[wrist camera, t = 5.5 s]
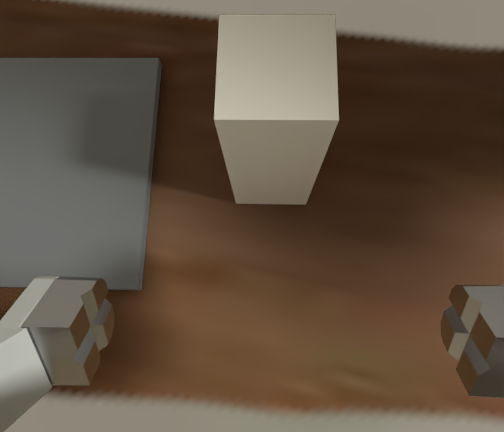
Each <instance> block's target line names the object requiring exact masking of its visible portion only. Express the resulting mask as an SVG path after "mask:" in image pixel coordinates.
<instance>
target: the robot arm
mask: <svg viewBox="0 0 504 432" xmlns="http://www.w3.org/2000/svg"><path fill="white" fill-rule="evenodd" d="M108 291H109V290H108V287H107V284H106V281H105V280H104V279H102V278H90V277H66V276H61V277H56V276H39V277H37V278H34V279H33V280H32V282H31V283H30V284H29V285H28V287H27V288H26V289H25V290H24V292H23V293H22V294H21V295H20V297H19V298H18V299H17V300H16V302H15V303H14V304H13V305H12V307H11V308H10V309H9V310H8V312H7V313H6V314H5V315H4V317H3V318H2V319H1V320H0V432H4V431H5V430H6V429H7V428H8V427H9V426H10V425H11V424H13V423H14V422H15V421H16V420H17V419H18V418H19V417H20V416H21V415H22V414H24V413H25V412H26V411H27V410H28V409H29V408H30V407H31V406H32V405H34V404H35V403H36V402H37V401H38V400H39V399H40V398H41V397H42V396H43V395H45V394H46V393H47V392H48V391H49V390H50V389H51V388H52V385H90V384H91V382H92V379H93V377H94V375H95V373H96V371H97V368H98V366H99V364H100V362H101V358H100V354H99V351H100V350H101V349H103V348H104V347H105V346H107V345H108V344H109V341H110V339H111V336H112V334H113V329H114V323H115V317H114V309H113V305H112V304H111V303H110V302H108V301H107V300H106V299H105V297H106V295H107V293H108ZM449 299H450V301H451V302H452V304H453V305H452V306H451V307H449V308H448V309H447V310H445V311H444V313H443V316H442V320H441V336H442V340H443V343H444V345H445V348H446V350H447V352H448V353H449V354H450V355H452V356H453V357H454V358H456V359H457V360H458V361H459V362H458V365H457V368H456V370H457V372H458V374H459V376H460V378H461V380H462V382H463V384H464V386H465V388H466V390H467V392H468V394H469V396H480V397H499V398H504V285H455V286H454V287H453V288H452V290H451V293H450V295H449Z"/></svg>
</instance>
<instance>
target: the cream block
mask: <svg viewBox="0 0 504 432" xmlns="http://www.w3.org/2000/svg"><path fill="white" fill-rule="evenodd" d="M214 122H215V126H216V129H217V133H218V137H219V141H220V145H221V149H222V152H223V156H224V160H225V164H226V168H227V171H228V175H229V179H230V183H231V187H232V190H233V194H234V198H235V202H236V204H292V205H306V203H307V201H308V198H309V195H310V193H311V190H312V188H313V185H314V183H315V180H316V178H317V175H318V173H319V170H320V167H321V165H322V162H323V160H324V157H325V155H326V152H327V150H328V147H329V145H330V142H331V139H332V137H333V134H334V132H335V129H336V127H337V124H338V122H339V106H338V77H337V48H336V20H335V14H267V15H266V14H259V15H257V14H254V15H219V30H218V49H217V69H216V88H215V108H214Z"/></svg>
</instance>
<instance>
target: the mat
mask: <svg viewBox="0 0 504 432" xmlns="http://www.w3.org/2000/svg"><path fill="white" fill-rule="evenodd" d="M161 71H162V65H161V62H160V60H159V58H0V287H11V288H27V287H28V285H29V284H30V283H31V282H32V280H33V279H34V278H37V277H39V276H56V277H61V276H66V277H90V278H102V279H104V280H105V281H106V284H107V287H108V290H142V282H143V271H144V260H145V249H146V238H147V227H148V216H149V204H150V193H151V182H152V171H153V160H154V149H155V138H156V127H157V115H158V104H159V93H160V82H161Z"/></svg>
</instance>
